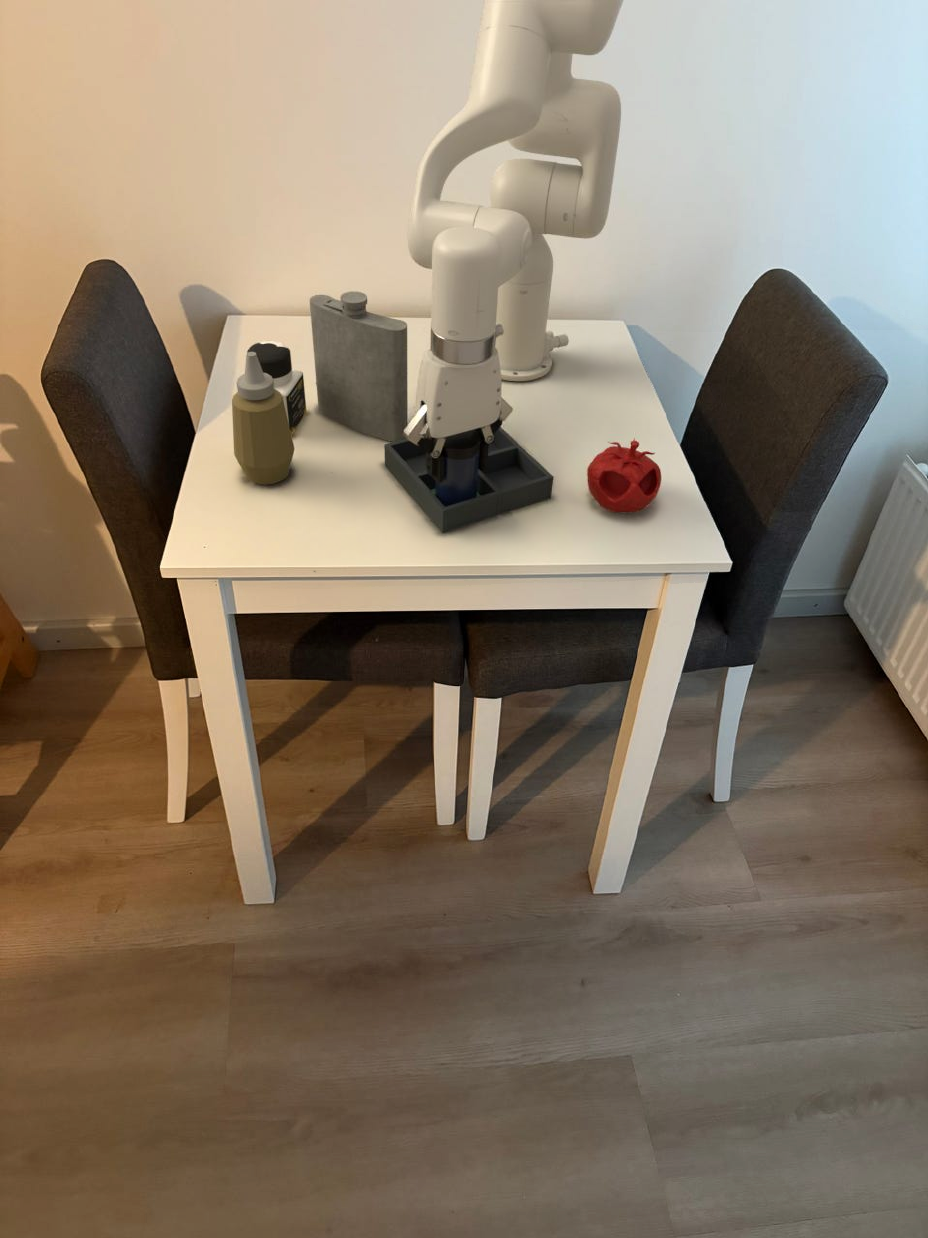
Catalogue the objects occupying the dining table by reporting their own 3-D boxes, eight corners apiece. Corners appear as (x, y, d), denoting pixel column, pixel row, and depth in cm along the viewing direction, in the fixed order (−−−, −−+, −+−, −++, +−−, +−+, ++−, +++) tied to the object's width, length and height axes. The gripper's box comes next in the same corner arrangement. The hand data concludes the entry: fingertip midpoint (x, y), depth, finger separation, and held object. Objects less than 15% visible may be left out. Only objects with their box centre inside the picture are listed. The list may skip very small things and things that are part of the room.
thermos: (463, 484, 123) (466, 421, 116) (483, 506, 119) (488, 443, 112) (427, 495, 120) (428, 431, 113) (447, 518, 117) (449, 453, 110)
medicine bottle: (291, 437, 130) (283, 362, 122) (245, 430, 131) (234, 355, 123) (307, 412, 136) (300, 339, 127) (262, 406, 136) (253, 332, 128)
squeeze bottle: (270, 497, 120) (253, 376, 107) (225, 477, 123) (204, 357, 110) (308, 469, 125) (297, 350, 112) (264, 450, 128) (248, 332, 115)
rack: (487, 437, 133) (489, 415, 130) (551, 498, 122) (554, 476, 120) (384, 465, 126) (384, 444, 124) (442, 533, 116) (442, 511, 113)
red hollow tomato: (578, 478, 126) (587, 421, 120) (647, 478, 127) (660, 421, 120) (590, 521, 119) (600, 463, 113) (663, 521, 120) (677, 463, 113)
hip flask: (411, 435, 132) (411, 305, 118) (395, 447, 130) (394, 316, 116) (327, 401, 138) (318, 274, 124) (310, 413, 136) (299, 284, 122)
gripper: (508, 315, 109) (498, 441, 122) (382, 342, 103) (385, 472, 115) (541, 341, 105) (527, 469, 117) (411, 371, 98) (411, 504, 111)
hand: (456, 469), depth 116 cm, fingers closed on thermos, 5 cm apart
